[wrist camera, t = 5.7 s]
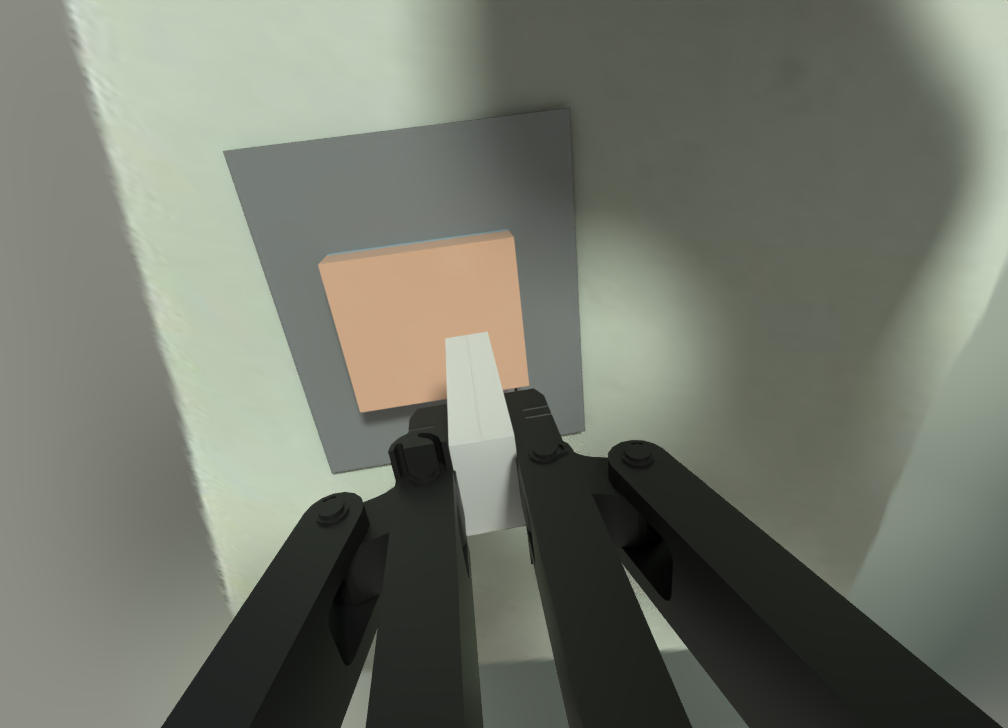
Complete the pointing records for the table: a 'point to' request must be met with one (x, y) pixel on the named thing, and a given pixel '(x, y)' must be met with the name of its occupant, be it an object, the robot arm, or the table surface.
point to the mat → (411, 218)
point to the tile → (424, 313)
